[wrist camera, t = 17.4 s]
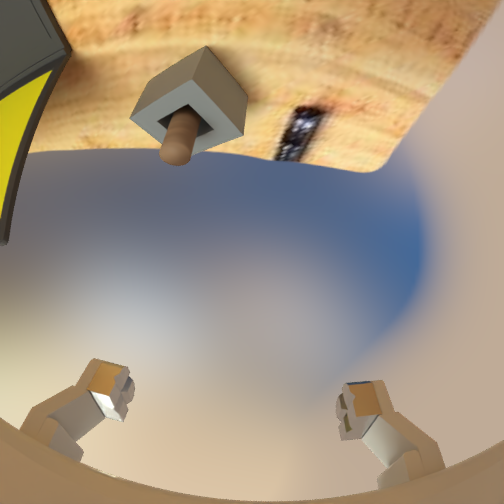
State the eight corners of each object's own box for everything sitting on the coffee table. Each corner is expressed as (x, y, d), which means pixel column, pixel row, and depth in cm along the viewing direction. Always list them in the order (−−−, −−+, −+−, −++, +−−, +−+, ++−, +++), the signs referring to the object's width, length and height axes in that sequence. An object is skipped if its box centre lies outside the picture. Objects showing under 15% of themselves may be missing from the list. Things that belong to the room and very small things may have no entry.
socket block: (148, 81, 31) (129, 118, 28) (206, 45, 26) (191, 79, 23) (192, 121, 39) (181, 159, 36) (248, 96, 34) (243, 135, 31)
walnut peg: (174, 97, 31) (152, 152, 27) (195, 85, 29) (175, 140, 26) (191, 112, 34) (174, 169, 30) (211, 102, 32) (197, 159, 28)
